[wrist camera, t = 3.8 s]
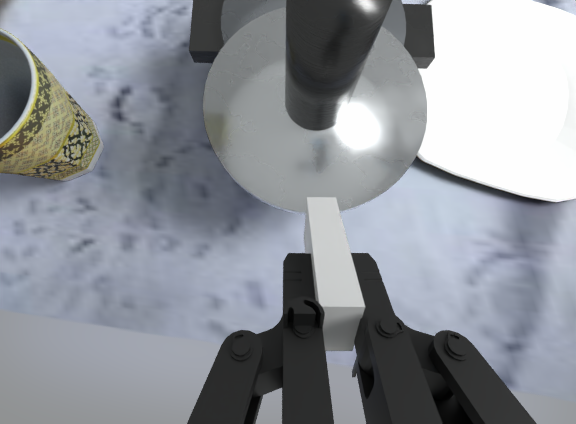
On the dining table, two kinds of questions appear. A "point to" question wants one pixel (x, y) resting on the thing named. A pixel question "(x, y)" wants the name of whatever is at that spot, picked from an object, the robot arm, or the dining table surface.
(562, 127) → the plate
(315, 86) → the lid
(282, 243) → the dining table surface
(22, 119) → the ceramic cup
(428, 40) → the pot
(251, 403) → the robot arm
